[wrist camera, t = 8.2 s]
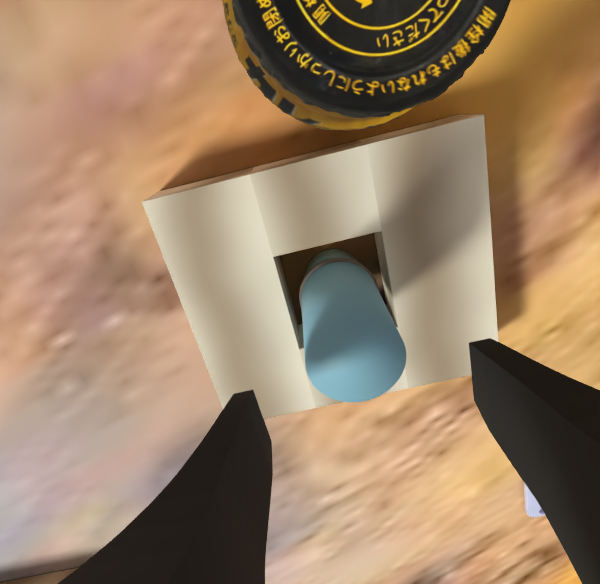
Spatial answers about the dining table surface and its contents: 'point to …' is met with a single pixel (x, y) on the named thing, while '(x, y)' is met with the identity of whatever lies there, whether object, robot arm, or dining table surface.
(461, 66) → the condiment
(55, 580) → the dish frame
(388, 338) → the peg
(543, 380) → the robot arm
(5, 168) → the dining table surface
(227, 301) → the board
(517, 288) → the dining table surface
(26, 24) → the dining table surface
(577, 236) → the dining table surface
